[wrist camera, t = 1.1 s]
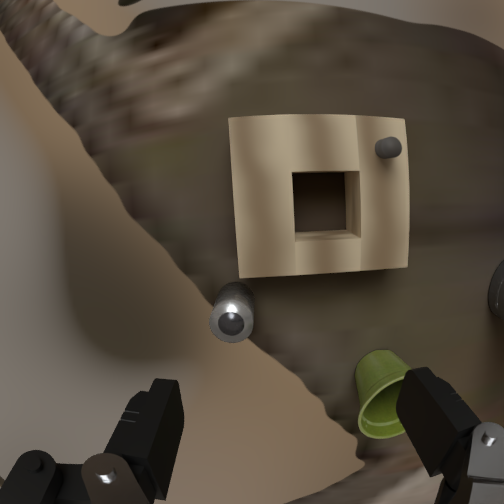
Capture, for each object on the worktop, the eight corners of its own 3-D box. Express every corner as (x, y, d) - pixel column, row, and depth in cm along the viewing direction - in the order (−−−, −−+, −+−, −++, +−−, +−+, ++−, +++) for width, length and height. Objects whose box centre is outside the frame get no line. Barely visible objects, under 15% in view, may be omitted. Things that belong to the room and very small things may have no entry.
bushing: (253, 281, 32) (251, 302, 26) (255, 315, 33) (254, 342, 27) (216, 282, 32) (206, 304, 26) (219, 316, 33) (211, 343, 27)
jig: (384, 127, 28) (414, 115, 21) (387, 254, 31) (416, 273, 24) (233, 128, 29) (225, 112, 22) (242, 263, 32) (237, 285, 25)
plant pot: (327, 371, 35) (341, 417, 26) (386, 322, 33) (416, 359, 24) (365, 405, 36) (383, 448, 27) (418, 362, 34) (446, 399, 26)
